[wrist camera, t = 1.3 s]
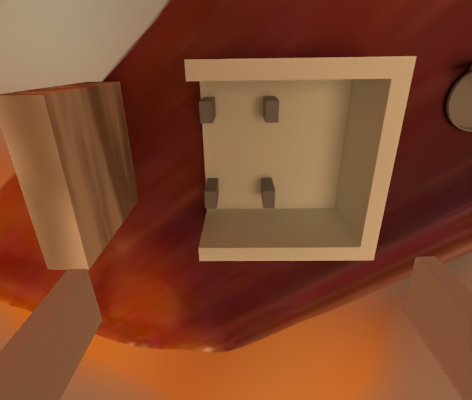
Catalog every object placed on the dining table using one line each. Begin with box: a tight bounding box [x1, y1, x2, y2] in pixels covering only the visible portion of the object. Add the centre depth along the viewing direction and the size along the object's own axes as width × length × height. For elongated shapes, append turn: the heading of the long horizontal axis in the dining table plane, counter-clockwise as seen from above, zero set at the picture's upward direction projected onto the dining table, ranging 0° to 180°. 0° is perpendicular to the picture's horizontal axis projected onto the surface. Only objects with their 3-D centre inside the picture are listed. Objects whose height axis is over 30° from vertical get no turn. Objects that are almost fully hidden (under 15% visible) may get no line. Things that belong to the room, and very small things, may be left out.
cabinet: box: [184, 56, 416, 261], centre depth 31 cm, size 17×18×10 cm
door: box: [0, 82, 139, 270], centre depth 29 cm, size 5×14×14 cm, turn 1°
